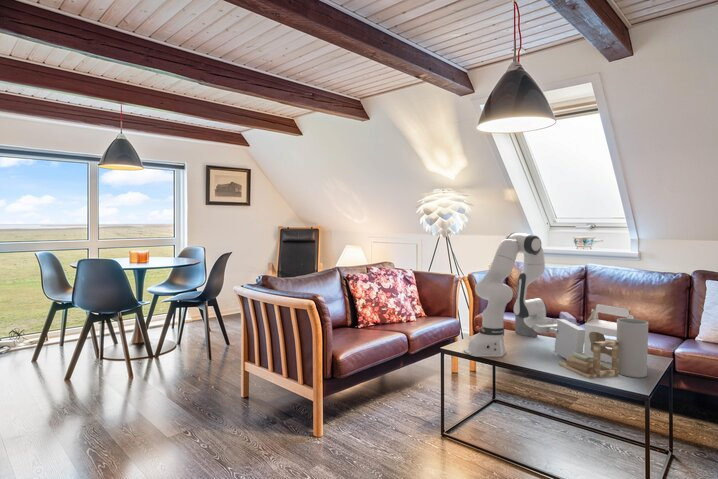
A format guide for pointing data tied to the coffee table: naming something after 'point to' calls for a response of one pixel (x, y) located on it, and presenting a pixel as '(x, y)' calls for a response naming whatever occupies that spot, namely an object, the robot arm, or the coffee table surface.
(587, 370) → the offcut stack
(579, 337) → the tall board
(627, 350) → the cylinder vase
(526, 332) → the hip flask
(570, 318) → the cake pan box
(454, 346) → the coffee table surface
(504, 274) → the robot arm
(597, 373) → the rack
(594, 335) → the gable box
